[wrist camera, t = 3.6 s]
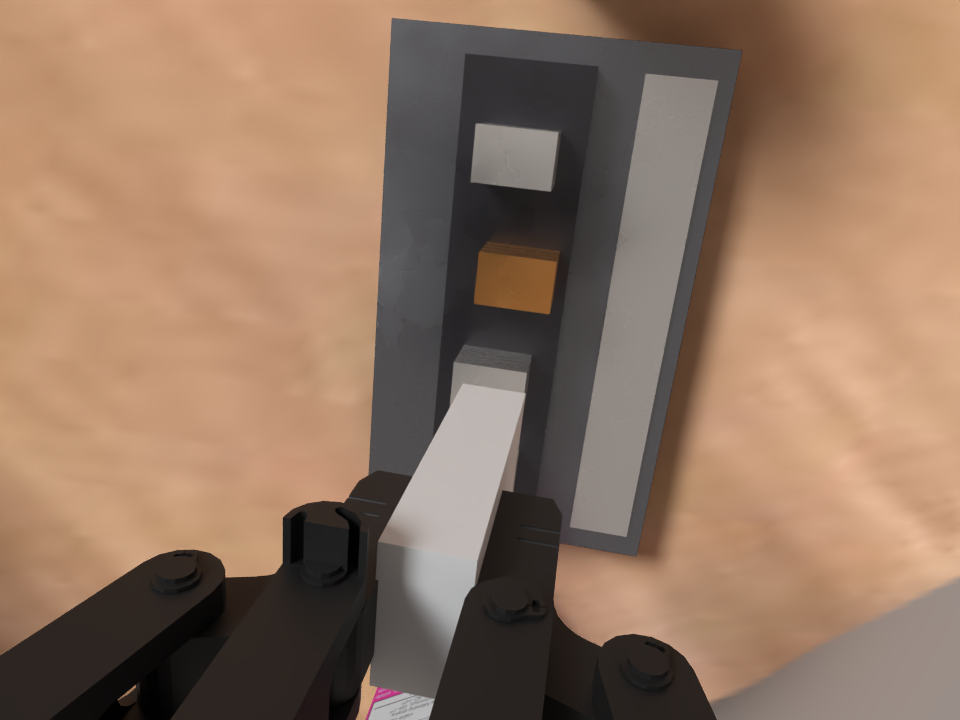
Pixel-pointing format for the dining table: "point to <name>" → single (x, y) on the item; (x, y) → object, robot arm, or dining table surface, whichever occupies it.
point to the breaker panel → (431, 235)
